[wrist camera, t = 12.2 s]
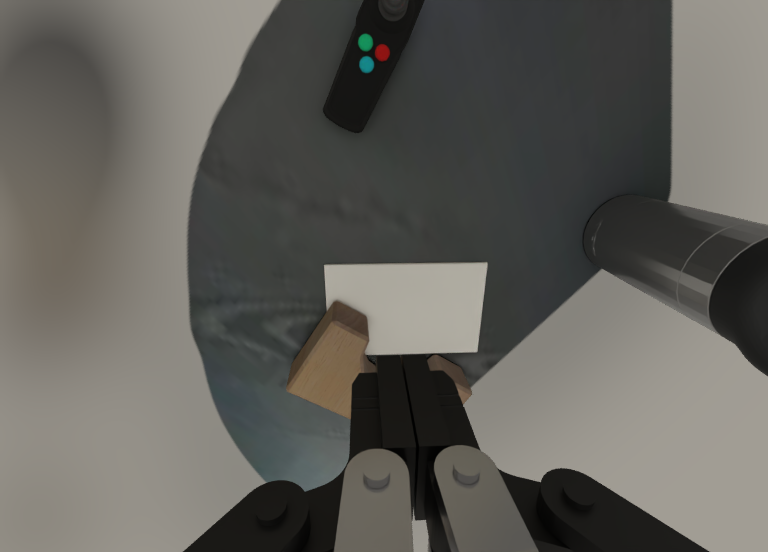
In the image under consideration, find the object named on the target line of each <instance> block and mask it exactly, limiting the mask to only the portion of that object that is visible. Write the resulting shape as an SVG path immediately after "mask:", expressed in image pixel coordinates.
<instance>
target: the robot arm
mask: <svg viewBox="0 0 768 552" xmlns="http://www.w3.org/2000/svg"><path fill="white" fill-rule="evenodd" d="M583 243H584V250H585V252H586V255H587V257H588V258H589V259H590V261H591V262H593V263H594V264H595V265H597V266H598V267H600V268H602V269H604V270H606V271H607V272H609V273H611V274H613V275H614V276H616V277H618V278H619V279H621V280H623V281H625V282H626V283H628V284H630V285H632V286H634V287H635V288H637V289H639V290H641V291H642V292H644V293H646V294H648V295H650V296H651V297H653V298H655V299H657V300H658V301H660V302H662V303H664V304H665V305H667V306H669V307H671V308H673V309H674V310H676V311H678V312H679V313H681V314H683V315H685V316H687V317H688V318H690V319H692V320H694V321H696V322H698V323H699V324H701V325H703V326H705V327H706V328H708V329H710V330H712V331H714V332H715V333H717V334H719V335H721V336H722V337H724V338H726V339H727V340H729V341H731V342H733V343H734V344H735V345H736V346H737V347H738V348H739V350H740V351H741V352H742V354H743V355H744V356H745V358H746V359H747V360H748V361H749V362H750V363H751V364H752V365H753V366H755V367H756V368H757V369H758V370H760V371H761V372H762V373H764V374H765V375H767V376H768V225H766V224H760V223H757V222H752V221H748V220H744V219H739V218H735V217H730V216H726V215H722V214H717V213H712V212H708V211H704V210H700V209H695V208H691V207H687V206H682V205H678V204H674V203H669V202H665V201H661V200H657V199H652V198H648V197H643V196H639V195H623V196H618V197H616V198H614V199H611V200H610V201H608V202H606V203H605V204H603V205H602V206H601V207H600V208H599V209H598V210H597V211H596V212H595V213H594V214H593V216H592V217H591V218H590V220H589V222H588V224H587V226H586V229H585V232H584V239H583ZM413 509H414V516H415V520H426V523H427V529H428V535H429V539H428V552H709V551H707V550H706V549H704V548H702V547H701V546H699V545H698V544H696V543H695V542H693V541H691V540H690V539H688V538H687V537H685V536H683V535H682V534H680V533H679V532H677V531H675V530H674V529H672V528H670V527H669V526H667V525H666V524H664V523H663V522H661V521H659V520H658V519H656V518H655V517H653V516H651V515H650V514H648V513H646V512H645V511H643V510H642V509H640V508H639V507H637V506H635V505H634V504H632V503H630V502H629V501H627V500H626V499H624V498H623V497H621V496H619V495H618V494H616V493H615V492H613V491H611V490H610V489H608V488H607V487H605V486H603V485H602V484H600V483H598V482H597V481H595V480H594V479H592V478H591V477H589V476H587V475H585V474H583V473H581V472H578V471H575V470H571V469H562V468H560V469H554V470H551V471H549V472H547V473H546V474H545V475H544V476H543V478H542V480H541V482H537V481H533V480H529V479H525V478H520V477H516V476H513V475H510V474H507V473H505V472H503V471H501V470H499V469H498V468H497V467H496V465H495V463H494V462H493V461H492V460H491V459H490V457H488V456H487V455H486V454H485V453H483V452H482V451H481V450H480V448H479V446H478V443H477V440H476V438H475V435H474V432H473V430H472V427H471V425H470V422H469V419H468V417H467V414H466V411H465V408H464V407H463V403H462V401H461V398H460V396H459V393H458V390H457V387H456V385H455V382H454V380H453V379H452V378H451V377H450V376H449V375H448V374H447V373H446V372H444V371H443V370H434V371H430V368H429V365H428V362H427V358H426V355H425V354H410V355H401V358H400V355H377V356H376V372H372V373H359V374H358V376H357V377H356V379H355V380H354V382H353V383H352V396H351V426H350V454H349V460H348V463H347V465H346V467H345V468H344V470H343V471H342V473H341V474H340V475H339V476H338V477H336V478H335V479H334V480H332V481H331V482H329V483H327V484H325V485H323V486H320V487H317V488H315V489H312V490H309V491H306V492H304V490H303V489H302V488H301V487H300V486H299V485H297V484H295V483H293V482H290V481H285V480H278V481H272V482H268V483H265V484H263V485H261V486H259V487H257V488H256V489H254V490H253V491H252V492H250V493H249V494H248V495H247V496H246V497H245V498H243V499H242V500H241V501H240V502H239V503H238V504H237V505H236V506H234V507H233V508H232V509H231V510H230V511H229V512H228V513H226V514H225V515H224V516H223V517H222V518H221V519H220V520H219V521H217V522H216V523H215V524H214V525H213V526H212V527H211V528H210V529H208V530H207V531H206V532H205V533H204V534H203V535H202V536H200V537H199V538H198V539H197V540H196V541H195V542H194V543H193V544H191V545H190V546H189V547H188V548H187V549H186V550H185V551H183V552H413V536H412V519H413Z"/></svg>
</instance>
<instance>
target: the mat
mask: <svg viewBox="0 0 768 552" xmlns="http://www.w3.org/2000/svg"><path fill="white" fill-rule="evenodd" d="M324 270H325V288H326V306H327V311H328V309H329V308H330V306H331V305H332V303H333V302H335V301H338V302H340V303H342V304H344V305H346V306H348V307H350V308H351V309H353V310H355V311H357V312H359V313H361V314H363V315H365V316H366V317H367V320H368V331H369V343H368V345H367V348H366V350H365V354H366V355H386V354H422V353H458V352H477V349H478V341H479V332H480V323H481V315H482V306H483V298H484V289H485V281H486V272H487V262H448V263H372V264H324Z"/></svg>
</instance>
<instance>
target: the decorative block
mask: <svg viewBox="0 0 768 552" xmlns="http://www.w3.org/2000/svg"><path fill="white" fill-rule="evenodd" d="M368 343H369V331H368V320H367V317H366V316H365V315H363V314H361V313H359V312H357V311H355V310H353V309H351V308H350V307H348V306H346V305H344V304H342V303H340V302H338V301H335V302H333V303H332V305H331V306H330V308H329V309H328V311H327V312H326V314H325V315H324V317H323V318H322V320H321V321H320V323H319V324H318V326H317V327H316V329H315V330H314V332H313V333H312V335H311V336H310V338H309V339H308V341H307V342H306V343H305V345H304V346H303V348H302V349H301V351H300V352H299V354H298V355H297V357H296V358H295V360H294V361H293V363H292V366H291V370H290V374H289V378H288V383H287V387H286V389H287V392H290V393H292V394H294V395H296V396H299V397H301V398H303V399H306V400H308V401H310V402H312V403H315V404H317V405H319V406H322V407H324V408H326V409H328V410H331V411H333V412H335V413H337V414H340V415H342V416H344V417H347V418H349V419H351V396H352V383H353V382H354V380H355V379H356V377H357V376H358V374H359V373H372V372H376V366H375V365H374V364H372V363H371V362H370V361H368V359H367V356H366V354H365V350H366V348H367V345H368ZM427 362H428V365H429V368H430V371H434V370H443V371H444V372H446V373H447V374H448V375H449V376H450V377H451V378H452V379H453V380H454V382H455V385H456V387H457V390H458V393H459V396H460V398H461V401H462V403H463V404H464V403H465V402H466V401H467V399H468V398H469V397H470V396H471V395H472V391H471V389H470V386H469V384H468V382H467V380H466V378H465V376H464V373H463V371H462V369H461V367H459V366H457V365H455V364H453V363H452V362H450V361H448V360H446V359H444V358H442V357H441V356H439V355H432V356H431V357H430V358H429V359H428V360H427Z"/></svg>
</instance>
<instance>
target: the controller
mask: <svg viewBox="0 0 768 552" xmlns="http://www.w3.org/2000/svg"><path fill="white" fill-rule="evenodd" d="M423 3H424V0H364V1H363V3H362V5H361V7H360V10H359V12H358V15H357V18H356V26H355V28H354V30H353V32H352V35H351V38H350V40H349V43H348V45H347V48H346V51H345V53H344V56H343V58H342V61H341V64H340V66H339V69H338V71H337V74H336V77H335V79H334V82H333V84H332V87H331V90H330V92H329V95H328V97H327V100H326V103H325V105H324V108H323V112H324V114H325V116H326V117H327V118H328V119H329V120H331V121H332V122H334V123H335V124H337V125H338V126H340V127H342V128H344V129H346V130H348V131H351V132H354V133H360V132H362V131H363V129H364V127H365V125H366V123H367V121H368V119H369V117H370V115H371V113H372V111H373V109H374V107H375V105H376V103H377V101H378V99H379V97H380V95H381V93H382V91H383V89H384V87H385V85H386V83H387V81H388V79H389V77H390V75H391V73H392V71H393V70H394V68H395V66H396V64H397V62H398V60H399V57H400V55H401V52H402V50H403V49H404V48H405V46H406V44H407V42H408V40H409V37H410V35H411V32H412V30H413V27H414V25H415V23H416V20H417V18H418V15H419V13H420V10H421V8H422V5H423Z"/></svg>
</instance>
